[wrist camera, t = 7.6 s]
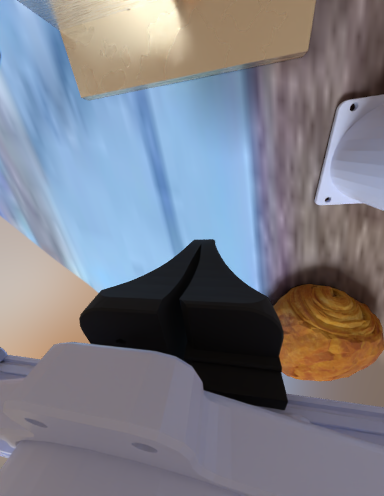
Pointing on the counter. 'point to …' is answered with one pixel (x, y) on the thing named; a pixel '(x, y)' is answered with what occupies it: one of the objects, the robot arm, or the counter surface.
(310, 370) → the croissant
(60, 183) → the counter surface
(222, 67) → the bearing block
